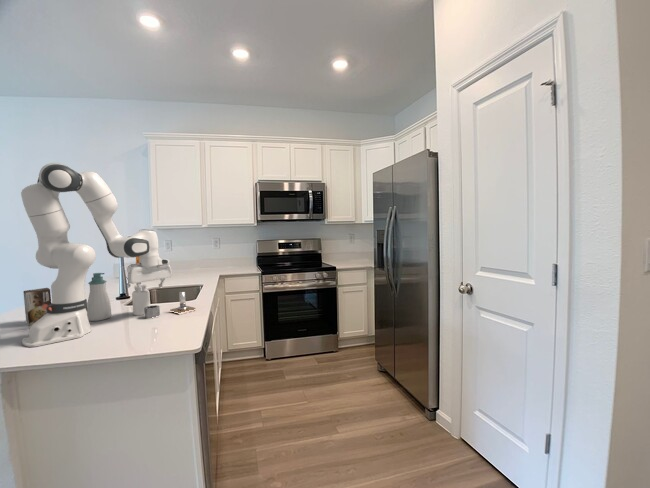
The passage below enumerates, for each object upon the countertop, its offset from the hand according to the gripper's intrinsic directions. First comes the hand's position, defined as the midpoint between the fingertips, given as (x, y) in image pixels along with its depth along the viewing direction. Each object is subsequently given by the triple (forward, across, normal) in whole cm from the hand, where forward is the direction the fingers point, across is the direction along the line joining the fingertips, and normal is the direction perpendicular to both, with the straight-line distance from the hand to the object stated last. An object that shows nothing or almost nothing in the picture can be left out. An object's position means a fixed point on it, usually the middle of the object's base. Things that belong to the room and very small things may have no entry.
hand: (151, 289), depth 159 cm
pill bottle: (+14, 0, +11) cm, 18 cm away
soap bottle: (+14, -17, +20) cm, 29 cm away
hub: (+14, 0, 0) cm, 14 cm away
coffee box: (+14, -36, +38) cm, 54 cm away
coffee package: (+16, +54, +130) cm, 142 cm away
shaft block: (+14, +14, -4) cm, 20 cm away
